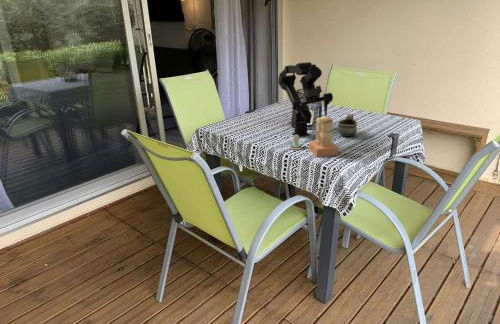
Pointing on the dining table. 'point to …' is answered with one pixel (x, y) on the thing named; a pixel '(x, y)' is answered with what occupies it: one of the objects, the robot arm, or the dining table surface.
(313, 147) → the terracotta block
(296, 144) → the pacifier
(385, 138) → the dining table surface
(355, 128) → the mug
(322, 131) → the birch block
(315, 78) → the robot arm
